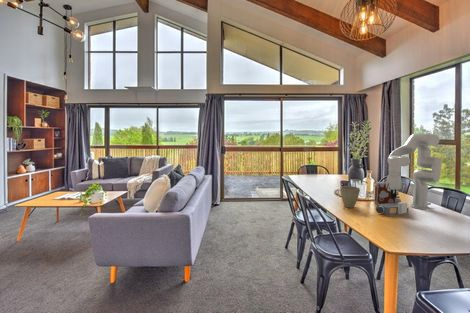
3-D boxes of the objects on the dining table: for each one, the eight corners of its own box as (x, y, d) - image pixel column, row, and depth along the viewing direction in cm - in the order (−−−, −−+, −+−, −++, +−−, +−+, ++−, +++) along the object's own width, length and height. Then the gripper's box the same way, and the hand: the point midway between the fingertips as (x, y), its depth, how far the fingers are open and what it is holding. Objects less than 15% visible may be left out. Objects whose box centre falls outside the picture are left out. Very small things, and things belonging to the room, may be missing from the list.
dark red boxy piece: (402, 208, 206) (404, 184, 204) (377, 206, 210) (378, 183, 208) (398, 205, 215) (399, 182, 213) (373, 203, 219) (374, 181, 217)
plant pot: (339, 207, 206) (340, 188, 205) (339, 203, 220) (340, 185, 218) (359, 210, 200) (360, 190, 199) (358, 205, 214) (359, 186, 213)
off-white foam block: (405, 212, 191) (405, 202, 190) (407, 213, 189) (408, 202, 188) (397, 213, 189) (398, 202, 188) (400, 214, 187) (400, 203, 186)
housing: (395, 210, 200) (396, 202, 200) (408, 214, 189) (408, 205, 189) (373, 212, 195) (373, 203, 194) (385, 216, 184) (385, 207, 184)
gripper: (398, 172, 190) (397, 195, 192) (381, 173, 186) (381, 197, 188) (407, 173, 182) (406, 198, 184) (390, 175, 179) (389, 200, 181)
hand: (393, 198), depth 186 cm, fingers closed
